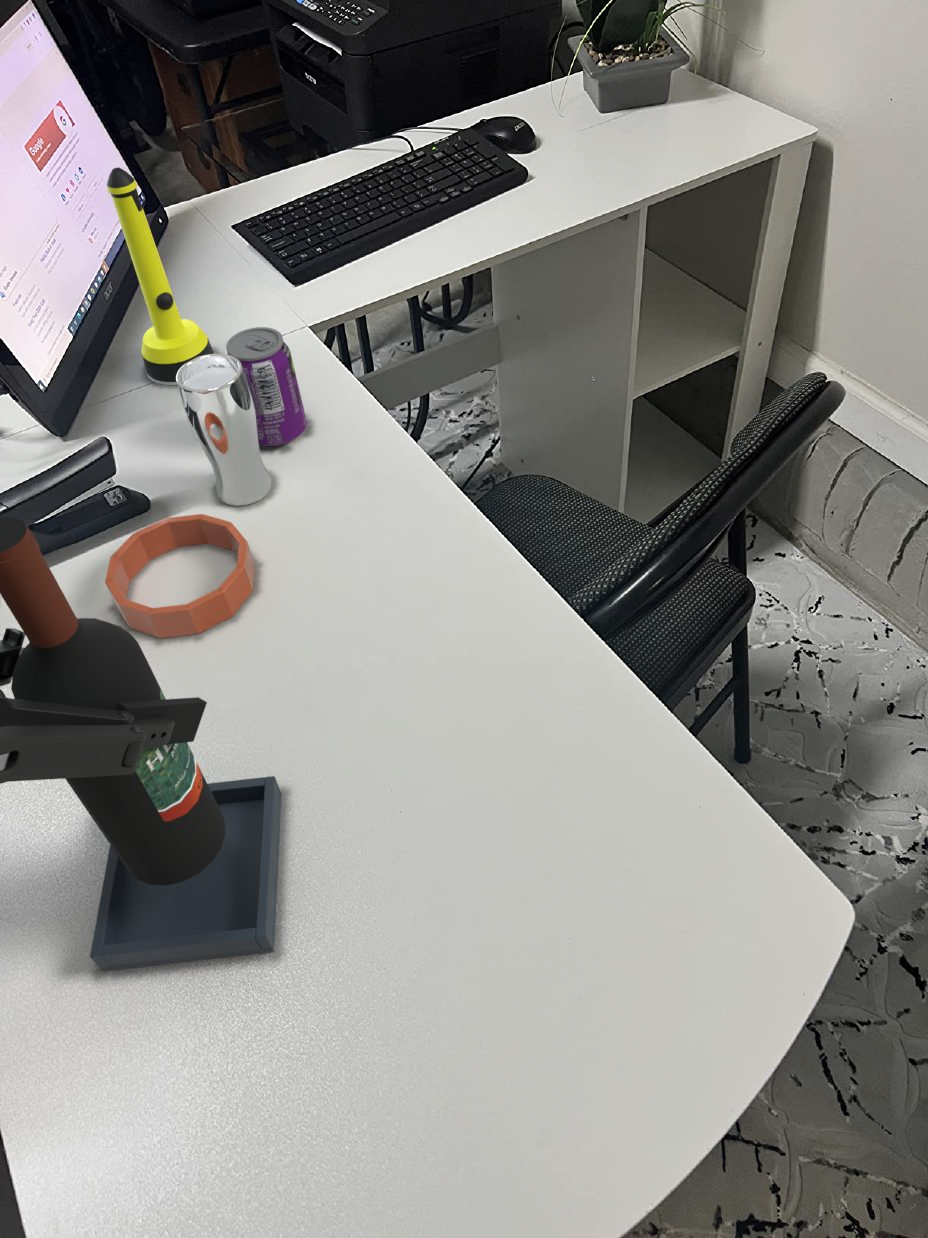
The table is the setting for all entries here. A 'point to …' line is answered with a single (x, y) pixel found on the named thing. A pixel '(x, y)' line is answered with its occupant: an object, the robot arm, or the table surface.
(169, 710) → the robot arm
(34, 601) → the wine bottle
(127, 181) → the flashlight
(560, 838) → the table surface
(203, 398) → the beer glass
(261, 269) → the table surface
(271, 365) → the beverage can
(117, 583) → the faceted bangle
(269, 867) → the tray
